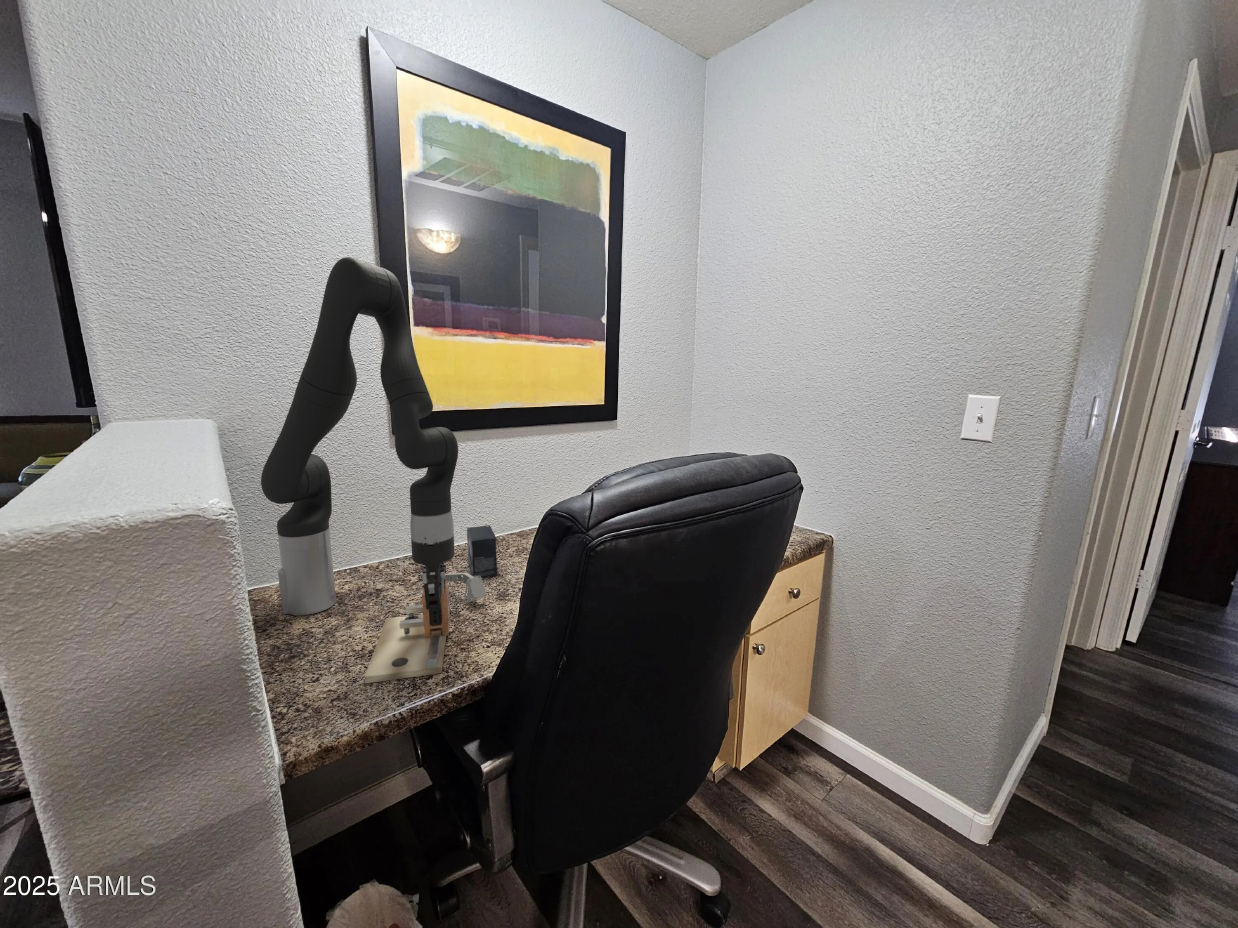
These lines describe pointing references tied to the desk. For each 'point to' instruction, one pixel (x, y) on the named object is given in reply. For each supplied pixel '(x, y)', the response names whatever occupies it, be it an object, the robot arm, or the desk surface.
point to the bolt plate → (402, 653)
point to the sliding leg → (425, 620)
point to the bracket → (473, 583)
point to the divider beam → (434, 640)
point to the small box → (482, 551)
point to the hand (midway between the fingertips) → (437, 618)
